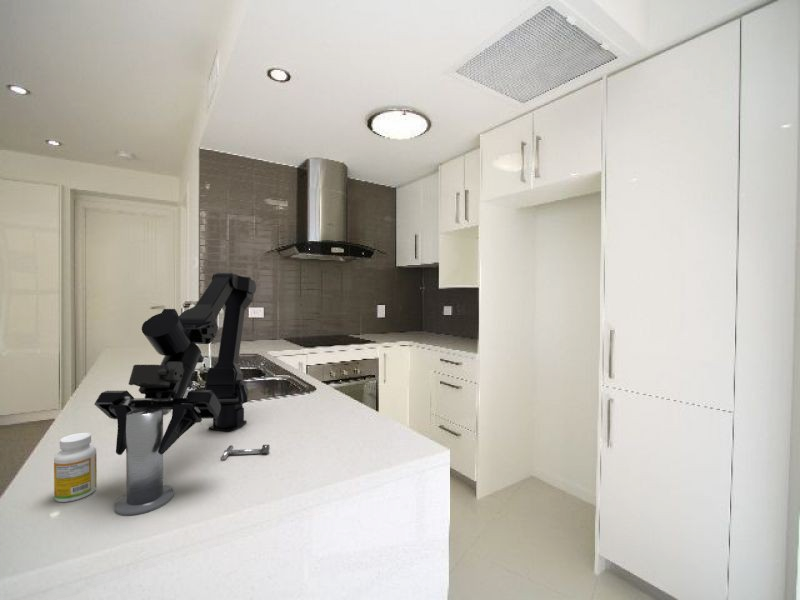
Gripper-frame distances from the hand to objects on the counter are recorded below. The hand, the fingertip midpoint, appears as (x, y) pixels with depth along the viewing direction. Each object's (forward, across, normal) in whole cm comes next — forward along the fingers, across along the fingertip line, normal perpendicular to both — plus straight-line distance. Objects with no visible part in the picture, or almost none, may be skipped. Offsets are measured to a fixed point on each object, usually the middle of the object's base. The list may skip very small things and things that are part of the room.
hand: (139, 453), depth 59 cm
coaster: (+5, 0, +7) cm, 9 cm away
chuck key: (-7, +10, +19) cm, 22 cm away
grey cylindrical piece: (+4, 0, +6) cm, 8 cm away
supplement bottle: (+3, -13, +9) cm, 16 cm away
